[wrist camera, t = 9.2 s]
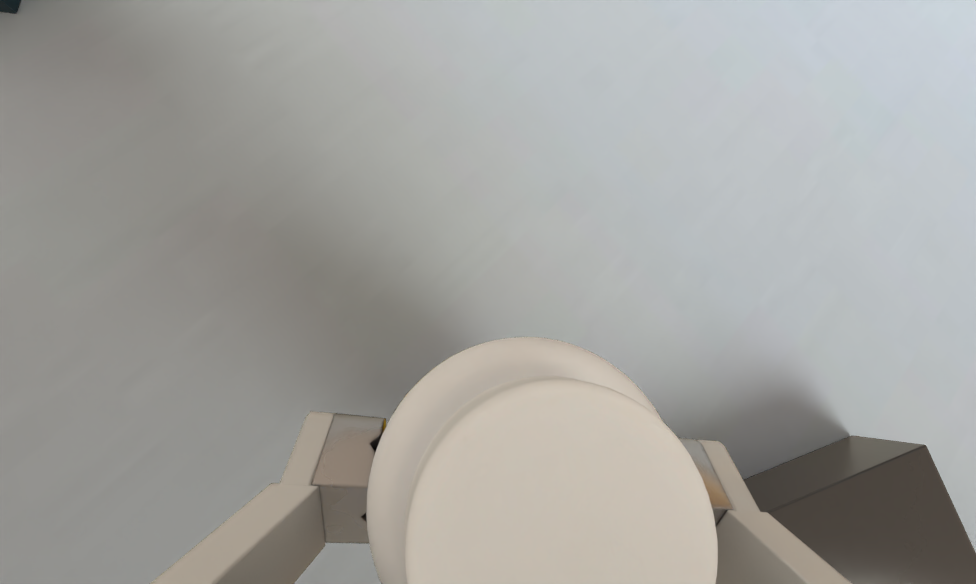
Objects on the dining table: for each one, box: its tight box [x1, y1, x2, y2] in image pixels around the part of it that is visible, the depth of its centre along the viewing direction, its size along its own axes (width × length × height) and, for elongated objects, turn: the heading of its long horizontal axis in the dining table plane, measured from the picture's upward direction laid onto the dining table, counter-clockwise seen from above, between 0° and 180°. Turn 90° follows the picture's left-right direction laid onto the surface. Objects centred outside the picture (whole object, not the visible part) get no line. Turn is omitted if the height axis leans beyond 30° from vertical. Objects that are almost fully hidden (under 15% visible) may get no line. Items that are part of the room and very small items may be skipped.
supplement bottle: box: [366, 337, 718, 584], centre depth 11 cm, size 6×6×10 cm
